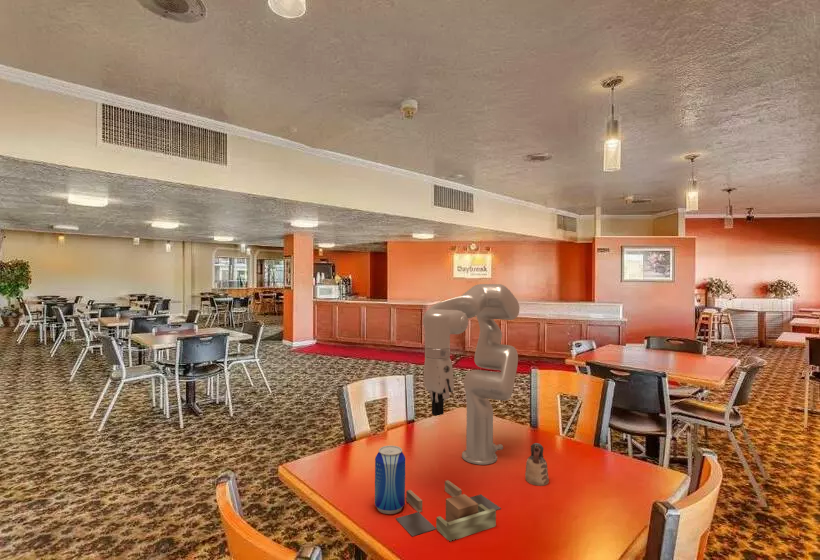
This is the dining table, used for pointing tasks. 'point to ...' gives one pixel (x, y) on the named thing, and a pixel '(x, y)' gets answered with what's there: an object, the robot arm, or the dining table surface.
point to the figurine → (536, 467)
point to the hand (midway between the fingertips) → (437, 414)
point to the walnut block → (460, 507)
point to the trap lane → (453, 529)
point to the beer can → (390, 480)
